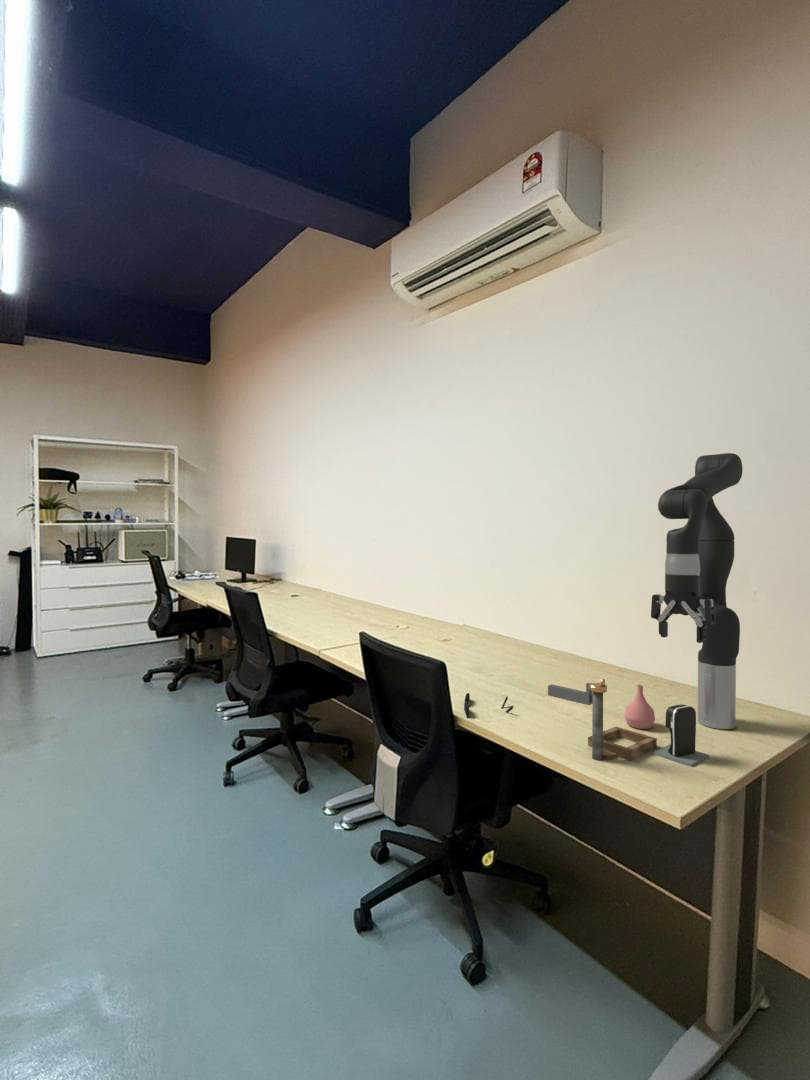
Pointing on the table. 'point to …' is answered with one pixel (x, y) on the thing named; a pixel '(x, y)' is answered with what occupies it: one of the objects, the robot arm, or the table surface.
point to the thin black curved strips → (466, 706)
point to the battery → (681, 729)
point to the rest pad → (685, 759)
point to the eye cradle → (612, 750)
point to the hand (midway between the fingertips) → (681, 639)
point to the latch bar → (577, 692)
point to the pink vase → (640, 712)
